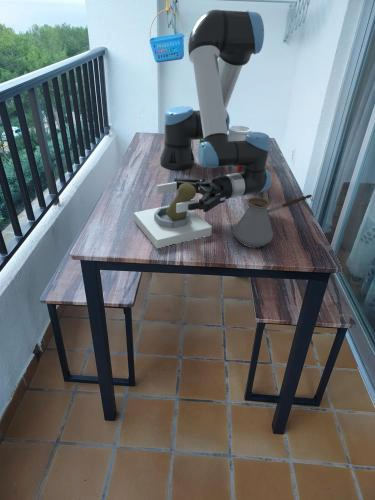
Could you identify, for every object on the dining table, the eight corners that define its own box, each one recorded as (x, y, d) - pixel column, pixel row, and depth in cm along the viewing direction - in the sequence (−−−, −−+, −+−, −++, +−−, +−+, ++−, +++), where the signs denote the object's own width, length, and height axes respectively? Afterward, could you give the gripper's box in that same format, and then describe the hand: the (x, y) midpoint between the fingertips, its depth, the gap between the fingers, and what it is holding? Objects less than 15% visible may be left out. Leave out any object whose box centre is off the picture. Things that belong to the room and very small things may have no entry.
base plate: (134, 220, 115) (133, 206, 112) (184, 210, 122) (184, 196, 120) (157, 249, 102) (156, 234, 99) (211, 235, 109) (212, 221, 107)
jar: (247, 166, 159) (251, 132, 151) (224, 164, 161) (227, 130, 152) (247, 158, 168) (252, 126, 160) (225, 156, 169) (228, 124, 161)
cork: (188, 216, 110) (203, 189, 103) (177, 224, 106) (192, 197, 98) (173, 204, 111) (186, 177, 104) (162, 211, 107) (175, 183, 99)
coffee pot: (237, 252, 102) (244, 204, 94) (229, 231, 112) (234, 186, 103) (309, 250, 104) (322, 203, 96) (295, 230, 114) (306, 186, 106)
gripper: (248, 214, 108) (185, 229, 99) (206, 183, 126) (150, 193, 117) (252, 191, 103) (186, 204, 95) (208, 162, 121) (149, 171, 113)
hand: (166, 198), depth 106 cm, fingers open, 13 cm apart
